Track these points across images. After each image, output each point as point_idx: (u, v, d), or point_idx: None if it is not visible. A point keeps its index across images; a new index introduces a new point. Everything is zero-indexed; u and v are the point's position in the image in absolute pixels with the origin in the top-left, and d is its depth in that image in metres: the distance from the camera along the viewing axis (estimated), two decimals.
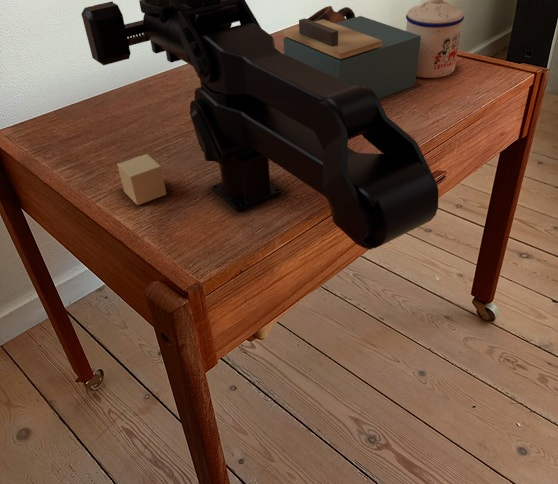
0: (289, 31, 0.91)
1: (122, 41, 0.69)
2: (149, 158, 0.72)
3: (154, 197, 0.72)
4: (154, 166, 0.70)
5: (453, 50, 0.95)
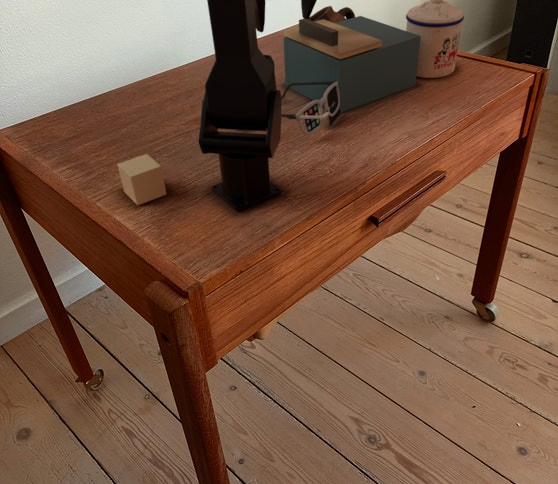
0: (289, 31, 0.91)
1: None
2: (149, 158, 0.72)
3: (154, 197, 0.72)
4: (154, 166, 0.70)
5: (453, 50, 0.95)
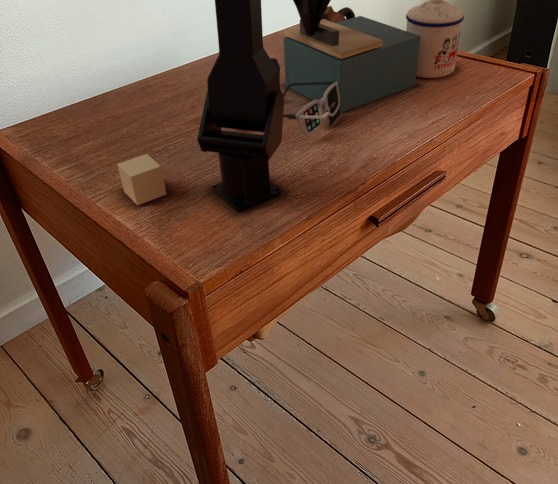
0: (290, 31, 0.91)
1: None
2: (149, 158, 0.72)
3: (154, 197, 0.72)
4: (154, 166, 0.70)
5: (453, 50, 0.95)
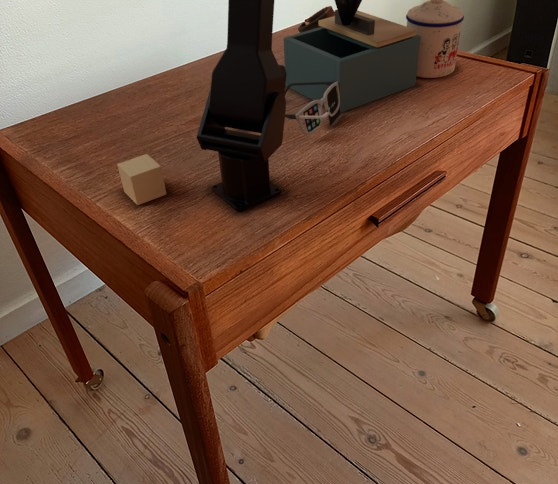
0: (324, 21, 0.94)
1: None
2: (149, 158, 0.72)
3: (154, 197, 0.72)
4: (154, 166, 0.70)
5: (453, 50, 0.95)
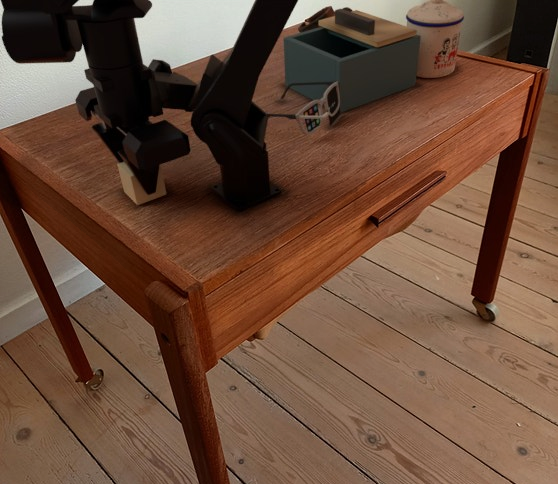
0: (325, 21, 0.94)
1: None
2: None
3: (154, 197, 0.72)
4: None
5: (453, 50, 0.95)
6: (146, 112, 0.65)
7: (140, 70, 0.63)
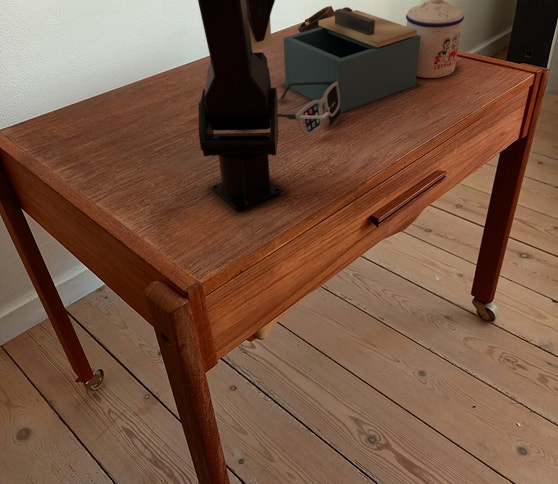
0: (325, 21, 0.94)
1: None
2: None
3: (261, 46, 0.76)
4: None
5: (453, 50, 0.95)
6: None
7: None
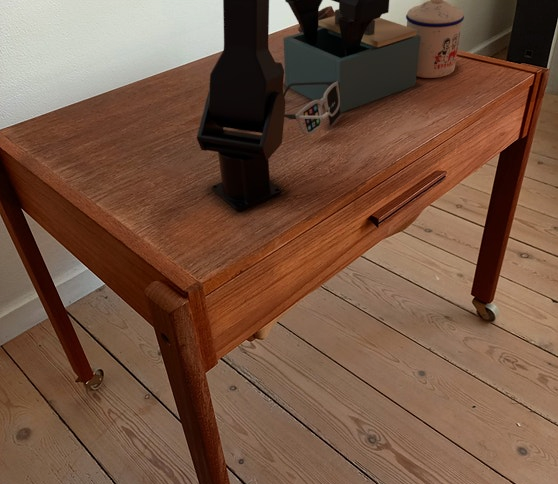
0: (325, 21, 0.94)
1: None
2: None
3: None
4: None
5: (453, 50, 0.95)
6: None
7: None
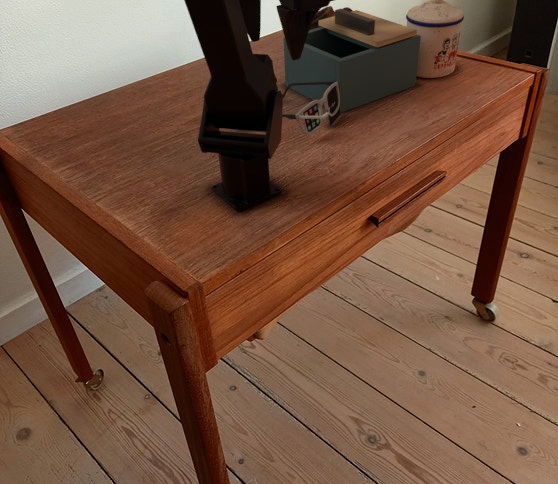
0: (325, 21, 0.94)
1: None
2: None
3: None
4: None
5: (453, 50, 0.95)
6: None
7: None
